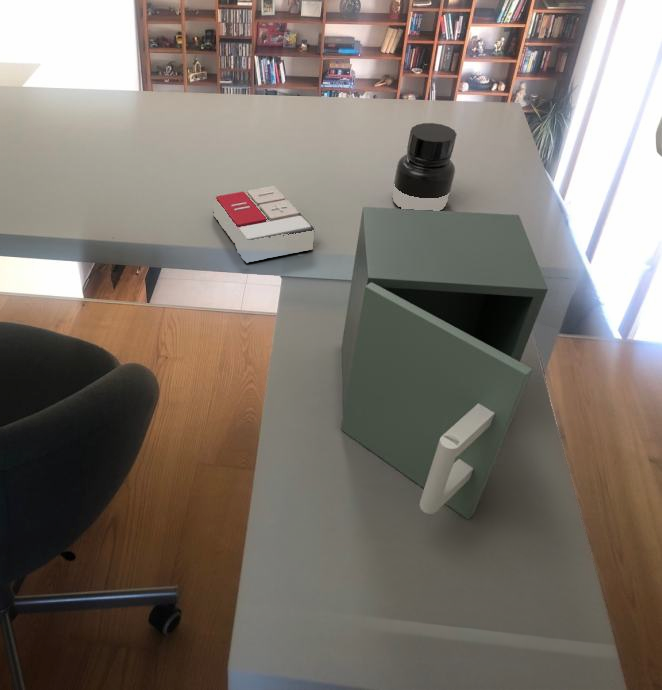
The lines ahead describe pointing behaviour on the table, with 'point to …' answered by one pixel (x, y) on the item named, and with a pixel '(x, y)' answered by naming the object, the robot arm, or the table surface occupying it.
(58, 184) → the table surface
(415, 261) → the green cabinet
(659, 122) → the robot arm
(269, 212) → the calculator
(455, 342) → the cabinet door
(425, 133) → the ink bottle
